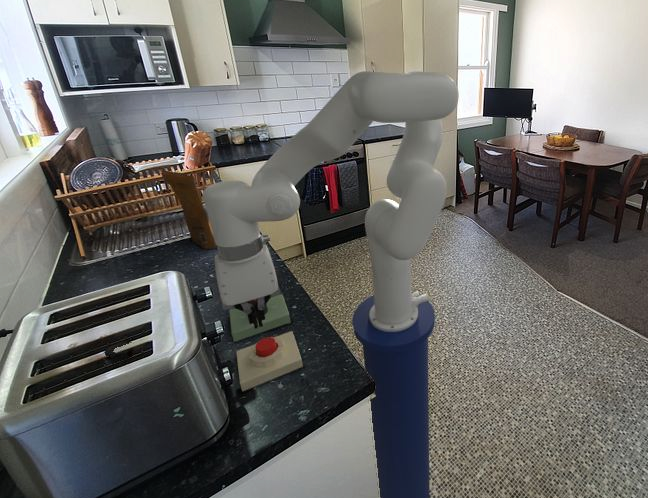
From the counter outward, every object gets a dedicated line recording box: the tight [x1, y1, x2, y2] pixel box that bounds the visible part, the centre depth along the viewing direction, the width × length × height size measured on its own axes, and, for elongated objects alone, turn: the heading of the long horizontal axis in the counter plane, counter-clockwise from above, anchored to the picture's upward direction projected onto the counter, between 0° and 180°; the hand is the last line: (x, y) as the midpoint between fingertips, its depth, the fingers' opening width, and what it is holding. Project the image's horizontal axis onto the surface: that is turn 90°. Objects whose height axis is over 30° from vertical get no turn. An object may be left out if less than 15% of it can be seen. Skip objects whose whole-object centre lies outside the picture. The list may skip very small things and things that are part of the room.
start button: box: [255, 336, 277, 357], centre depth 75 cm, size 4×4×2 cm
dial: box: [249, 299, 268, 318], centre depth 87 cm, size 4×4×5 cm
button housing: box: [235, 330, 304, 392], centre depth 76 cm, size 12×10×4 cm
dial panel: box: [228, 293, 291, 342], centre depth 89 cm, size 13×10×3 cm
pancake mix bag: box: [160, 169, 217, 250], centre depth 122 cm, size 7×19×28 cm, turn 55°
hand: (258, 323), depth 72 cm, fingers closed
